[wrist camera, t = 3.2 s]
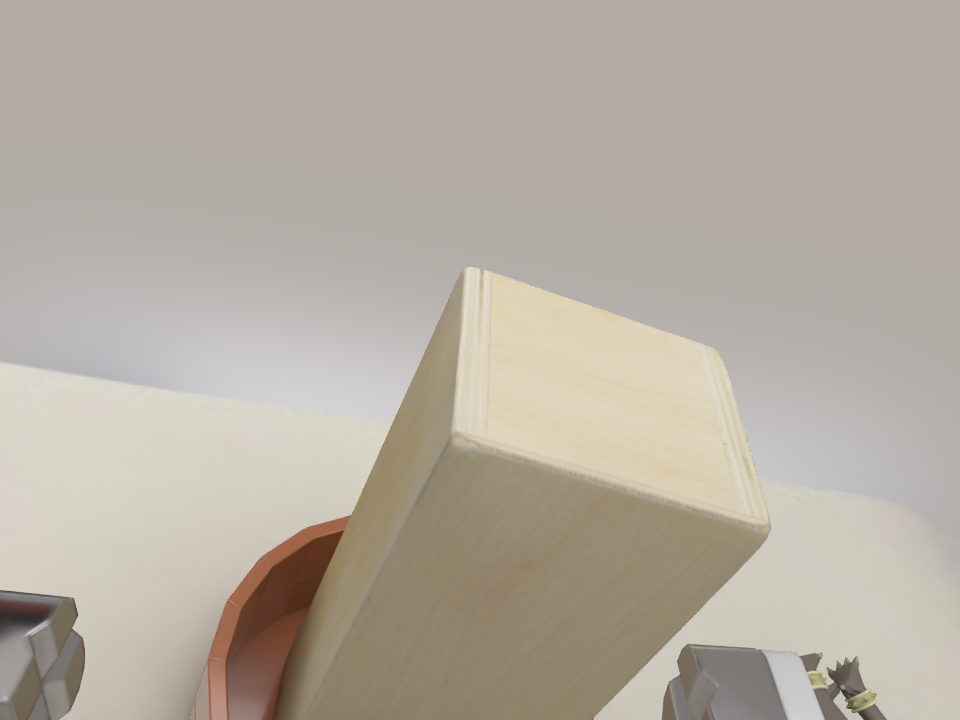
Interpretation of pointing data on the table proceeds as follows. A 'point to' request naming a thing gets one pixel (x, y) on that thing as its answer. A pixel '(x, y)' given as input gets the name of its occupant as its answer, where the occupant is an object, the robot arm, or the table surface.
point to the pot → (264, 626)
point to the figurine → (845, 681)
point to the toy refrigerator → (530, 519)
